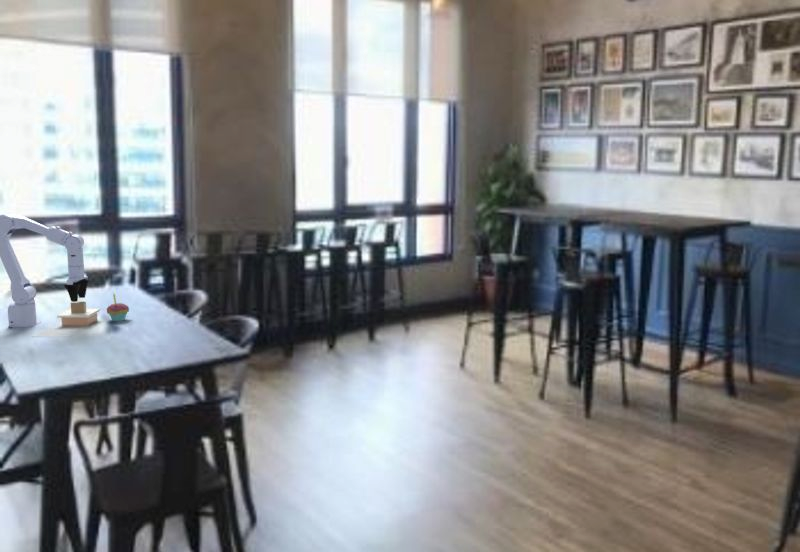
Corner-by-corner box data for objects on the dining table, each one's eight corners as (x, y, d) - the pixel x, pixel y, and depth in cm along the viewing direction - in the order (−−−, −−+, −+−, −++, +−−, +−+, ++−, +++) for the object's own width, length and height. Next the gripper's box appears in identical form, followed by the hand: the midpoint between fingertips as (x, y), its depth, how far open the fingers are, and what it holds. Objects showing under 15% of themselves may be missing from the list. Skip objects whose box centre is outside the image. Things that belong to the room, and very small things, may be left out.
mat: (31, 337, 276) (31, 336, 276) (48, 328, 290) (48, 327, 290) (70, 337, 277) (70, 336, 276) (85, 328, 290) (84, 327, 290)
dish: (62, 327, 293) (61, 316, 292) (72, 321, 303) (71, 311, 302) (88, 326, 293) (87, 316, 293) (97, 321, 303) (96, 311, 302)
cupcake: (121, 323, 299) (120, 293, 297) (102, 322, 301) (100, 293, 299) (133, 318, 308) (132, 290, 306) (114, 317, 309) (113, 289, 307)
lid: (57, 317, 291) (56, 305, 291) (69, 310, 303) (69, 299, 302) (88, 317, 292) (87, 305, 291) (99, 310, 303) (99, 299, 303)
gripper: (78, 268, 287) (81, 303, 289) (93, 262, 301) (95, 296, 304) (60, 268, 287) (62, 303, 289) (75, 262, 301) (77, 295, 304)
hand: (78, 299), depth 296 cm, fingers open, 7 cm apart
